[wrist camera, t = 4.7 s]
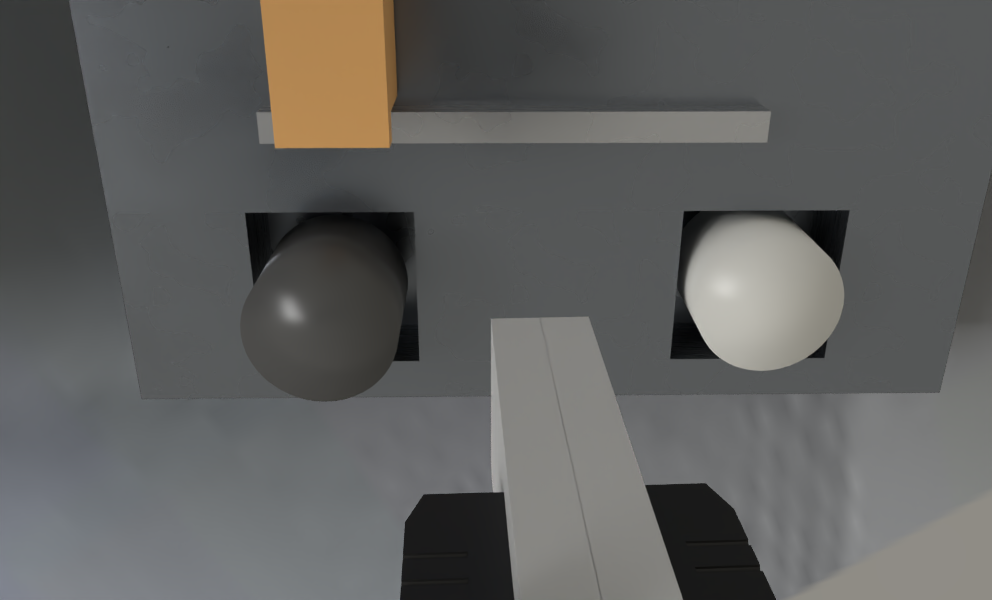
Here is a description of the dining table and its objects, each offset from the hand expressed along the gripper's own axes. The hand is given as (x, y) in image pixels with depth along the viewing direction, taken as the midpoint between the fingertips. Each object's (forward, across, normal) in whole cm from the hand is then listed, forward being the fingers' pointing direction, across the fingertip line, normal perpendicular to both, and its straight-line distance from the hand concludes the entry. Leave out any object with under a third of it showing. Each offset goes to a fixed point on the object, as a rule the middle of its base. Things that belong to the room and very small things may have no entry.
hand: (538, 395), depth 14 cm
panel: (+16, +2, 0) cm, 16 cm away
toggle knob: (+11, -4, +4) cm, 12 cm away
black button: (+12, -5, -3) cm, 13 cm away
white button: (+13, +7, -3) cm, 15 cm away
